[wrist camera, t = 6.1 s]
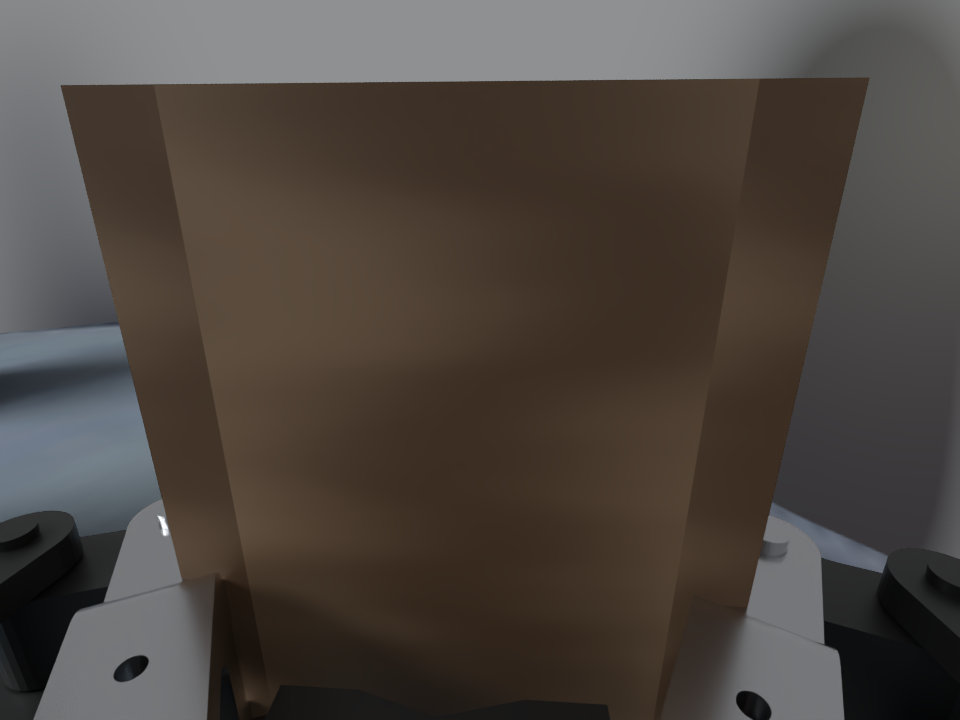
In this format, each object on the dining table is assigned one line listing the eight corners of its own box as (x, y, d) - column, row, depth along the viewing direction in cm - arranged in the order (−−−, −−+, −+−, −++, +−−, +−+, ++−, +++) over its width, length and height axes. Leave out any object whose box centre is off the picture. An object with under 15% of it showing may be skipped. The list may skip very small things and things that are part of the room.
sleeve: (280, 983, 9) (61, 85, 4) (375, 658, 15) (328, 142, 10) (652, 1020, 8) (867, 78, 4) (594, 671, 14) (650, 141, 10)
